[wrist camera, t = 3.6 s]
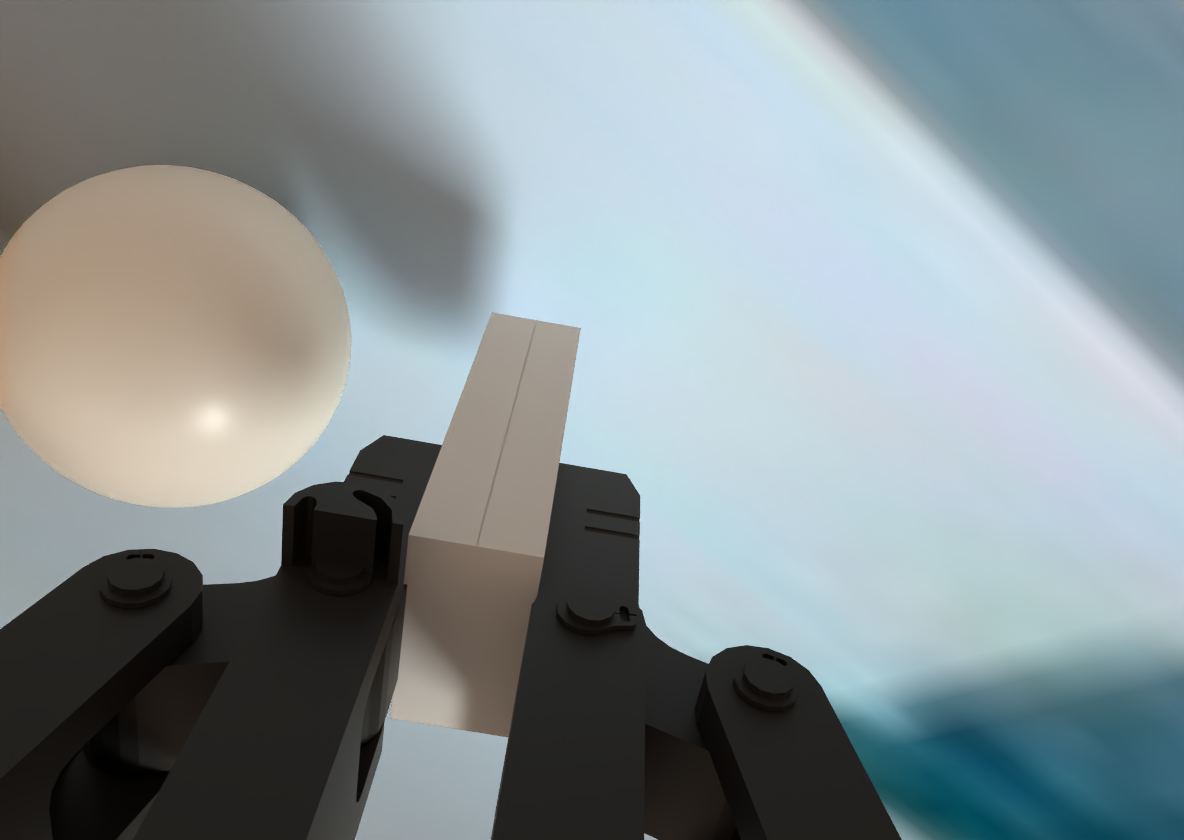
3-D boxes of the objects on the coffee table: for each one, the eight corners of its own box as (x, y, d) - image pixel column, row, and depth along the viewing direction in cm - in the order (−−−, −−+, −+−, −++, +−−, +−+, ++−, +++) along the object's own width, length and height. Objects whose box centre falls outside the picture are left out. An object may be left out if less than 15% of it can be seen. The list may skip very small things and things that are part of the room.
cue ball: (-137, 491, 14) (-12, 330, 18) (245, 624, 16) (271, 451, 21) (18, 145, 12) (113, 65, 17) (421, 350, 14) (405, 228, 19)
